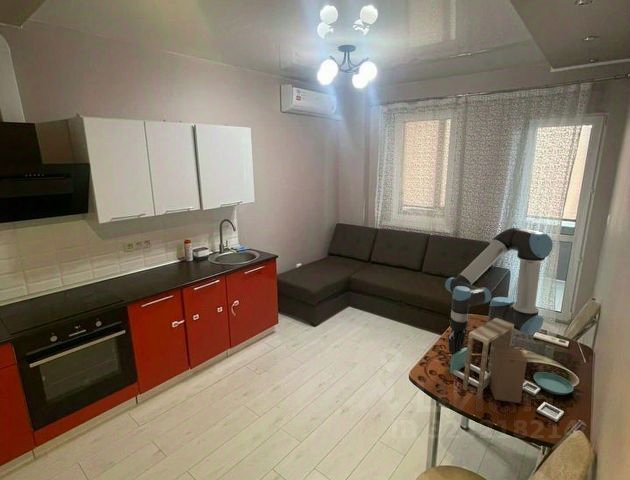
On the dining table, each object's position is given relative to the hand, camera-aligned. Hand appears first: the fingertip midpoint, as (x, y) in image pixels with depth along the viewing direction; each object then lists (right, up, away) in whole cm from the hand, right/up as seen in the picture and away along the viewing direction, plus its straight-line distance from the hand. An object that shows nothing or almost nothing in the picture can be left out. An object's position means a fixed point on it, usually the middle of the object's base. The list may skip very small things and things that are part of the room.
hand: (454, 363), depth 166 cm
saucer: (+38, -6, -14) cm, 41 cm away
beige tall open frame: (+9, -5, -12) cm, 16 cm away
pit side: (+27, -6, -16) cm, 32 cm away
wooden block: (+14, -7, -18) cm, 24 cm away
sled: (+6, -4, -7) cm, 10 cm away
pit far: (+26, -9, -29) cm, 41 cm away
